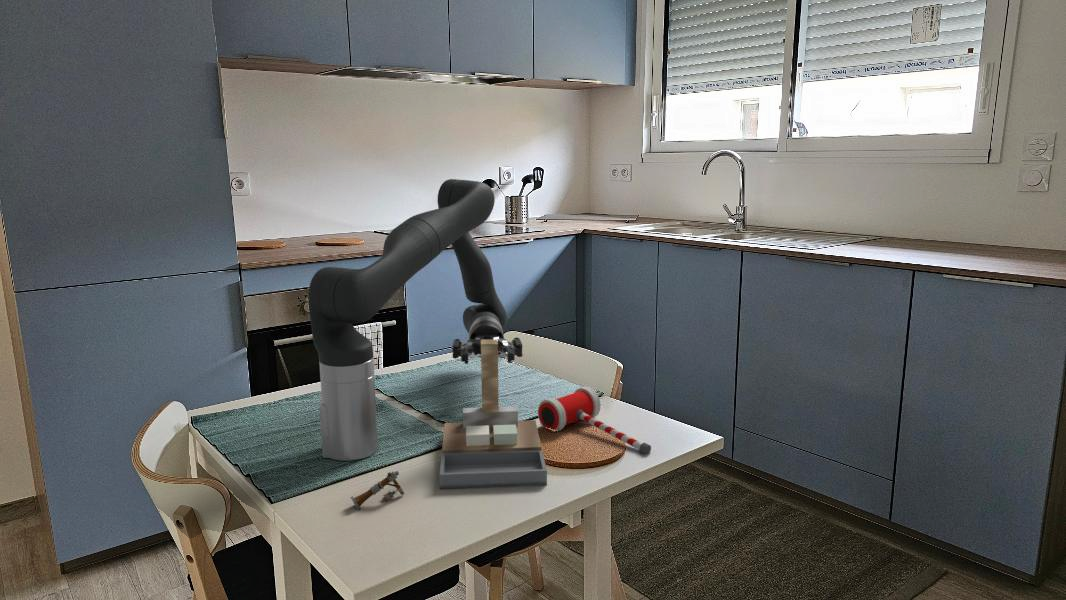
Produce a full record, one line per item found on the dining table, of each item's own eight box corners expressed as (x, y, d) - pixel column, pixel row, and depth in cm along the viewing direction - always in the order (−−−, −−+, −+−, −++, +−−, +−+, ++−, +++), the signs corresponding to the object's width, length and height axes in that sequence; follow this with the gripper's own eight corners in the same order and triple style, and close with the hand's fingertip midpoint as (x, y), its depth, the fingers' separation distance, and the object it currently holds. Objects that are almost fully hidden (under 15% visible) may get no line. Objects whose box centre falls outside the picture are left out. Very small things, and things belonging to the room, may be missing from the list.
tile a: (466, 445, 124) (466, 435, 123) (466, 436, 128) (466, 426, 127) (489, 445, 124) (489, 434, 124) (488, 435, 128) (488, 425, 127)
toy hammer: (668, 446, 132) (669, 413, 130) (627, 465, 124) (628, 431, 123) (578, 412, 148) (578, 382, 147) (536, 427, 140) (536, 396, 139)
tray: (440, 489, 115) (439, 474, 114) (441, 466, 123) (441, 453, 122) (546, 484, 116) (546, 470, 116) (542, 463, 124) (542, 449, 123)
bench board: (442, 466, 123) (442, 450, 122) (444, 438, 134) (444, 423, 134) (541, 463, 124) (541, 447, 123) (535, 435, 136) (535, 420, 135)
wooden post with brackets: (410, 491, 112) (398, 470, 111) (366, 522, 109) (352, 501, 108) (406, 487, 114) (394, 465, 112) (362, 517, 111) (349, 496, 109)
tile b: (494, 445, 124) (494, 434, 124) (493, 435, 128) (493, 425, 128) (517, 444, 124) (517, 433, 124) (515, 434, 128) (515, 424, 128)
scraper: (463, 428, 131) (461, 344, 127) (463, 422, 134) (461, 340, 130) (517, 427, 132) (517, 343, 128) (516, 420, 135) (516, 338, 131)
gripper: (453, 320, 155) (451, 341, 140) (518, 319, 157) (524, 339, 141) (454, 353, 157) (452, 377, 141) (518, 352, 158) (524, 375, 142)
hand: (488, 358), depth 141 cm, fingers open, 8 cm apart
